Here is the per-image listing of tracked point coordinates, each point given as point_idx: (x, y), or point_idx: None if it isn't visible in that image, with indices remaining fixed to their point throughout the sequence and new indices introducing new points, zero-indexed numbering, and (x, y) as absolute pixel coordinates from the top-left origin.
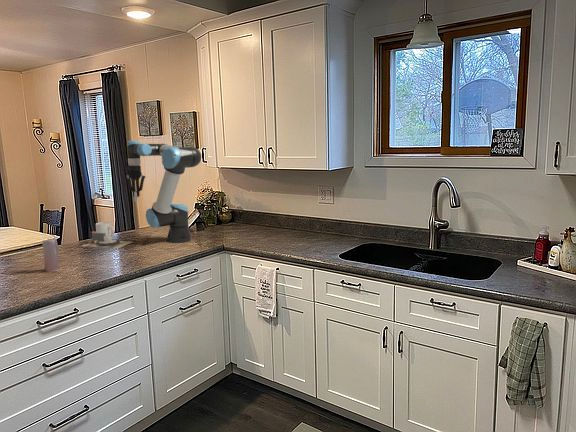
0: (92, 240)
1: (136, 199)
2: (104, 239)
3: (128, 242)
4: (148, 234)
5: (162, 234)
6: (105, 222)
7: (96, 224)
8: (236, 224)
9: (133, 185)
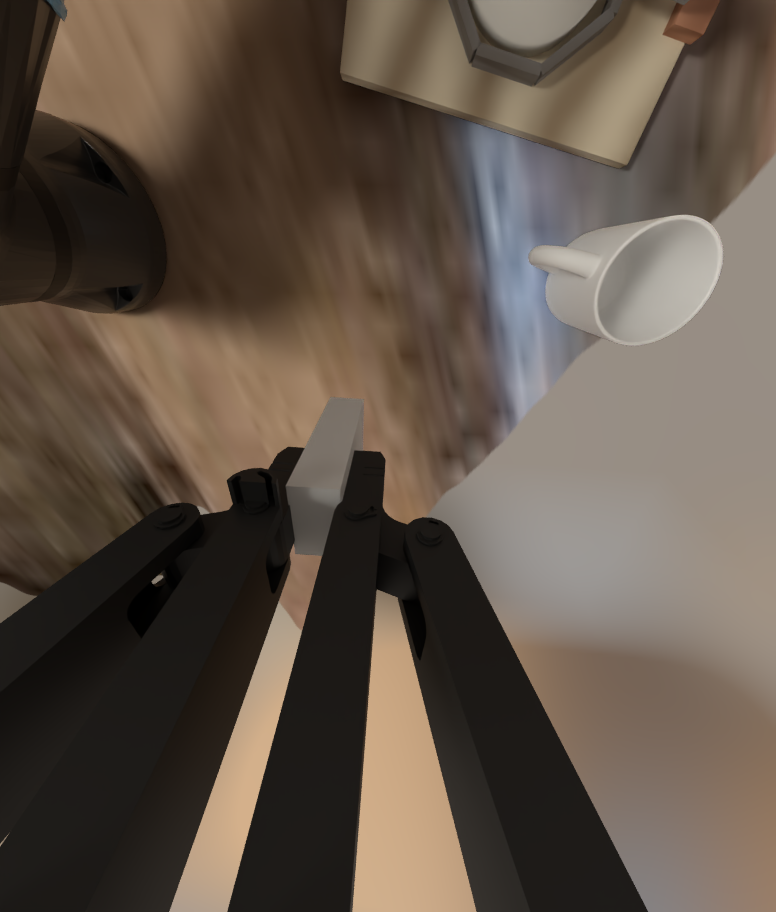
0: (692, 23)
1: (328, 412)
2: None
3: (373, 29)
4: None
5: (272, 402)
6: (627, 341)
7: (716, 233)
8: None
9: (313, 657)
